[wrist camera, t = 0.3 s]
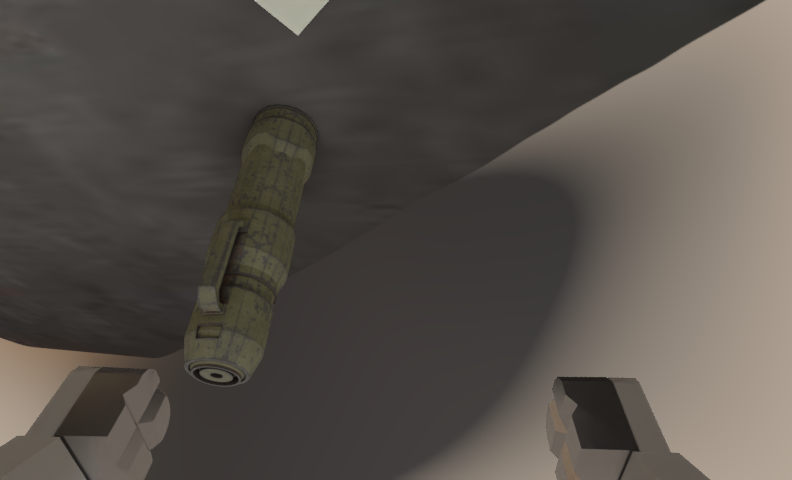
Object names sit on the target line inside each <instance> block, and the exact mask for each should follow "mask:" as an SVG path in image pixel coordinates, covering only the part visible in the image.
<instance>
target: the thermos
mask: <svg viewBox="0 0 792 480" xmlns="http://www.w3.org/2000/svg"><path fill="white" fill-rule="evenodd" d="M317 139H318V132H317V128H316V126H315V124H314V122H313V120H312V119H311V118H310V117H309V116H308V115H307V114H305V113H304V112H302V111H300V110H298V109H297V108H294V107H290V106H287V105H273V106H269V107H266V108H264V109H263V110H261V111H259V113H258V114H257V116H256V117H255V119H254V124H253V126H252V127H251V129H250V130H249V133H248V135H247V138H246V141H245V144H244V147H243V150H242V154H241V163H242V167H241V170H240V172H239V175H238V178H237V181H236V184H235V187H234V190H233V193H232V196H231V199H230V201H229V204H228V207H227V210H226V212H225V213H224V214H223V215H222V216H221V217H220V219H219V220H218V223H217V225H216V228H215V231H214V234H213V237H212V240H211V242H210V245H209V248H208V251H207V254H206V257H205V268H204V271H203V274H202V276H201V279H200V282H199V284H198V299H197V302H196V305H195V308H194V311H193V314H192V317H191V319H190V322H189V325H188V328H187V331H186V334H185V337H184V368H185V370H186V371H187V373H189V374H190V375H192V376H193V377H194V378H195V379H197V380H199V381H201V382H203V383H206V384H210V385H214V386H223V387H228V386H235V385H238V384H242V383H245V382H246V381H248V380H249V378H250V377H251V375H252V374H253V372H254V370H255V369H256V367H257V366H258V364H259V362H260V360H261V359H262V357H263V354H264V349H265V346H266V341H267V337H268V333H269V328H270V324H271V320H272V315H273V311H274V310H273V304H275V302H276V298H277V294H278V292H279V291H280V289H281V288H282V286H283V285H284V283H285V282H286V279H287V276H288V272H289V267H290V263H291V258H292V254H293V249H294V245H295V240H296V238H295V234H294V226H295V222H296V217H297V213H298V209H299V204H300V200H301V196H302V191H303V187H304V184H305V182H306V181H307V180H308V179H309V178H310V174H311V171H312V167H313V162H314V158H315V153H316V142H317Z"/></svg>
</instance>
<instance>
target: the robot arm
mask: <svg viewBox="0 0 792 480" xmlns="http://www.w3.org/2000/svg"><path fill="white" fill-rule="evenodd" d="M159 382H160V379H159V377H158V375H157V373H156V371H155V370H152V369H134V368H112V367H84V366H82V367H81V366H79V367H77V368H76V369H74V370H73V371H71V373H70V374H69V375H68V376H67V378H66V379H65V381H64V382H63V383H62V385H61V386H60V387H59V389H58V390H57V392H56V393H55V394H54V396H53V397H52V399H51V400H50V402H49V403H48V404H47V406H46V407H45V408H44V410H43V411H42V413H41V414H40V415H39V417H38V418H37V420H36V421H35V422H34V424H33V425H32V426H31V428H30V429H29V431H28V432H27V433H26V435H25V436H16V437H15V438H13V439H12V440H10V441H9V442H7V443H6V444H4V445H3V446H1V447H0V480H144V478H145V476H146V474H147V472H148V470H149V467H150V465H151V463H152V461H153V460H152V456H151V453H150V450H151V449H152V448H153V447H154V446H156V445H157V444H158V443H159V442H161V441H162V439H163V437H164V435H165V433H166V430H167V428H168V423H169V417H170V404H169V401H168V398H167V395H166V394H164V393H163V392H162V391H160V390H159V389H157V386H158V384H159ZM552 390H553V393H554V398H555V399H554V400H553V401H551V402H550V403H549V405H548V409H547V414H546V415H547V416H546V417H547V419H546V429H547V437H548V442H549V447H550V451H551V452H552V453H553V454H554V455H555V456H556V457H557V458H558V459H559V460H558V463H557V467H556V471H555V473H556V477H557V480H710V479H709V478H708V477H706V476H705V475H704V474H703V473H702V472H701V471H699V470H698V469H697V468H696V467H695V466H693V465H692V464H691V463H690V462H689V461H688V460H686V459H685V458H684V457H683V456H682V455H680V454H679V453H671V452H670V450H669V447H668V445H667V443H666V441H665V439H664V436H663V434H662V432H661V430H660V427H659V425H658V423H657V421H656V419H655V416H654V414H653V412H652V410H651V408H650V405H649V403H648V401H647V399H646V396H645V394H644V392H643V390H642V388H641V385H640V383H639V382H638V381H637V380H636V379H635V378H606V377H557V378H556V379H555V381H554V384H553V388H552Z"/></svg>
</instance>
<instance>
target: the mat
mask: <svg viewBox="0 0 792 480" xmlns="http://www.w3.org/2000/svg"><path fill="white" fill-rule="evenodd" d="M254 1H256V2H257V3H258V4H259V5H261V6H262V7H263V8H264V9H266V10H267V11H268V12H269V13H270V14H272V15H273V16H274V17H275V18H277V19H278V20H279V21H280V22H282V23H283V24H284V25H285V26H287V27H288V28H289V29H290V30H292V31H293V32H294V33H295V34H297V35H299V34H300V33H301V31H302V30H303V29H304V28H305V27H306V26H307V25H308V23H309V22H310V21H311V20H312V19H313V18H314V17H315V16H316V14H317V13H318V12H319V11H320V10H321V9H322V8H323V6H324V5H325V4H326V3H327V2H328V1H329V0H254Z"/></svg>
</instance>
